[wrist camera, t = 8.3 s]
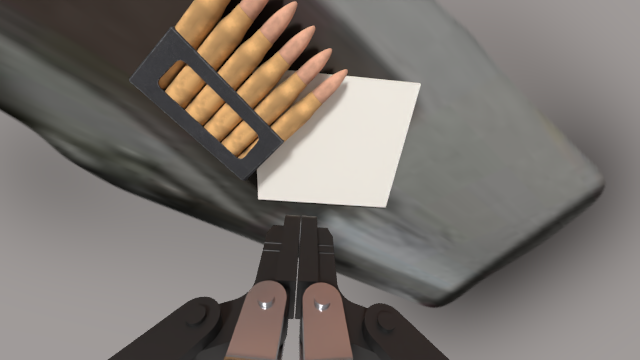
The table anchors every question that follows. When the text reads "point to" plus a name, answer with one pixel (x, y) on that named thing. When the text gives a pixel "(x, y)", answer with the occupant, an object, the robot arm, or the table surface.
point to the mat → (342, 145)
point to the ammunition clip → (234, 81)
